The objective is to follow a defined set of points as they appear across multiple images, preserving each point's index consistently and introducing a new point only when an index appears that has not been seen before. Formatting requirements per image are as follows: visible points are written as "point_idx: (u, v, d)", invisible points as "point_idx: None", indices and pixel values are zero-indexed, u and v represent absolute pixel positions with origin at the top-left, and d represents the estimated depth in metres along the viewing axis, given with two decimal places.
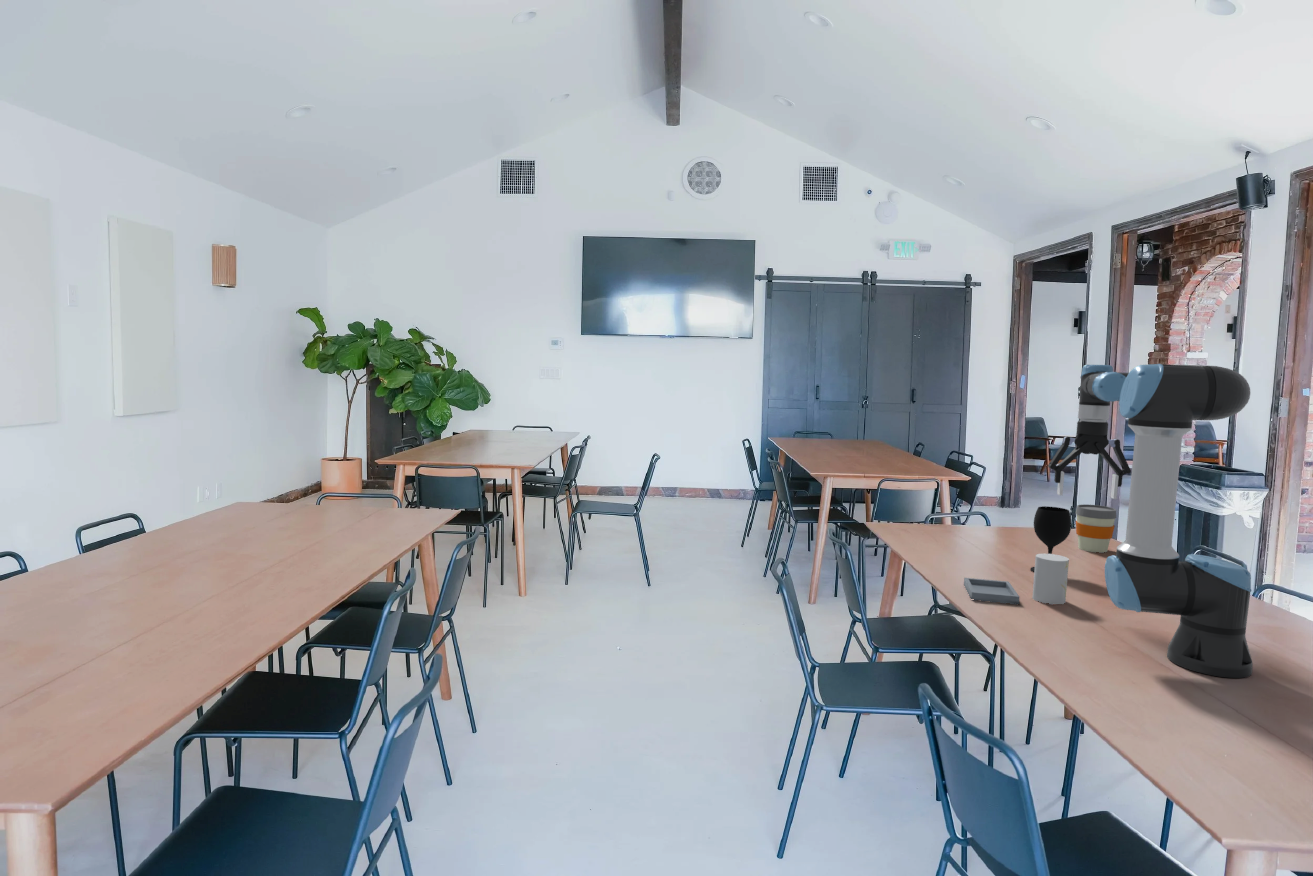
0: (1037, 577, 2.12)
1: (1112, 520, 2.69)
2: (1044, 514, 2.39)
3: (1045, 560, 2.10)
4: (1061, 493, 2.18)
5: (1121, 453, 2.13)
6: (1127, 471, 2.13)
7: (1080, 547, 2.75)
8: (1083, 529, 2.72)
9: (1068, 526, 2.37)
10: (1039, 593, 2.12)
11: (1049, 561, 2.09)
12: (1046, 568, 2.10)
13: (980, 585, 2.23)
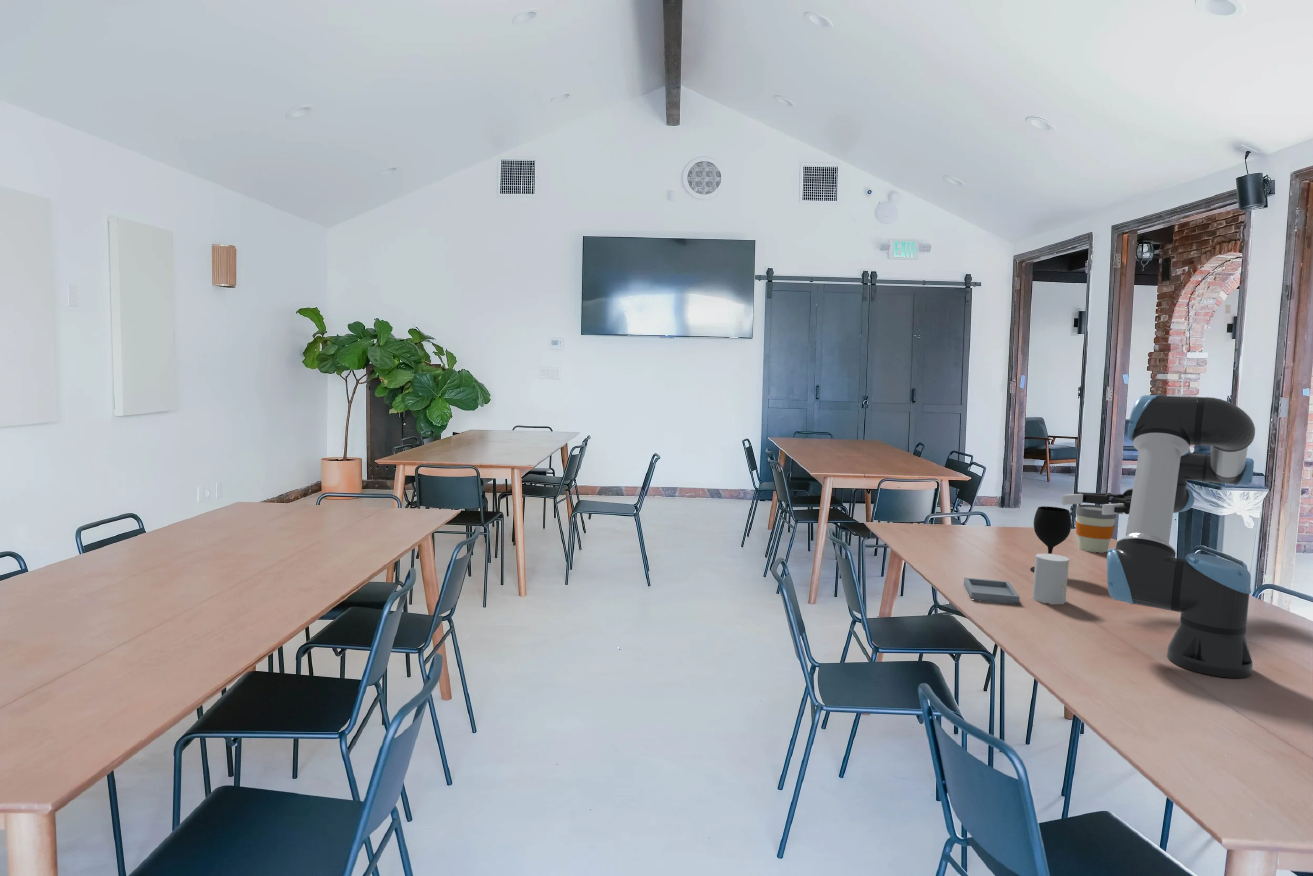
0: (1037, 577, 2.12)
1: (1112, 520, 2.69)
2: (1044, 514, 2.39)
3: (1045, 560, 2.10)
4: (1065, 495, 2.20)
5: None
6: None
7: (1080, 547, 2.75)
8: (1083, 529, 2.72)
9: (1068, 526, 2.37)
10: (1039, 593, 2.12)
11: (1049, 561, 2.09)
12: (1046, 568, 2.10)
13: (980, 585, 2.23)
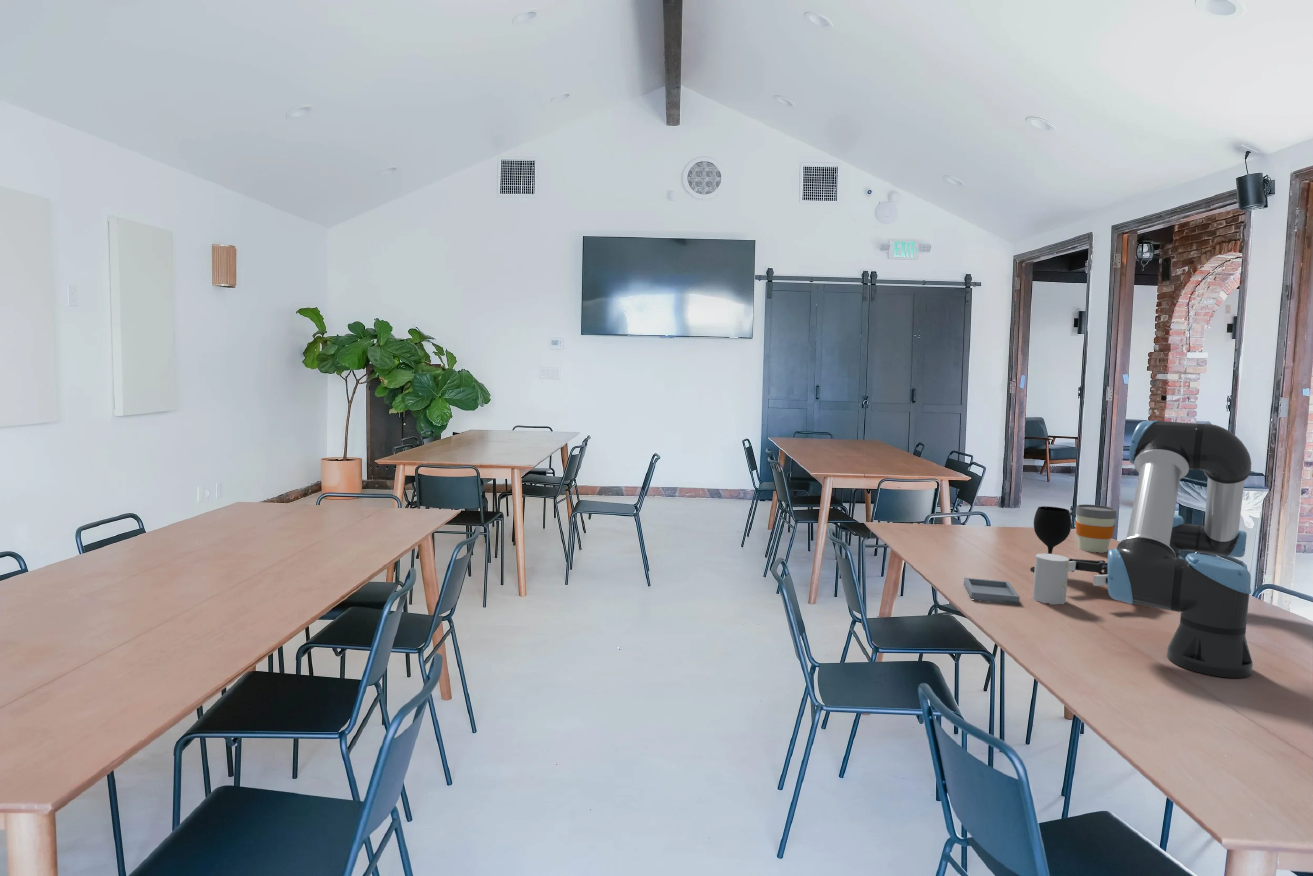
0: (1037, 577, 2.12)
1: (1112, 520, 2.69)
2: (1044, 514, 2.39)
3: (1045, 560, 2.10)
4: None
5: None
6: None
7: (1080, 547, 2.75)
8: (1083, 529, 2.72)
9: (1068, 526, 2.37)
10: (1039, 593, 2.12)
11: (1049, 561, 2.09)
12: (1046, 568, 2.10)
13: (980, 585, 2.23)
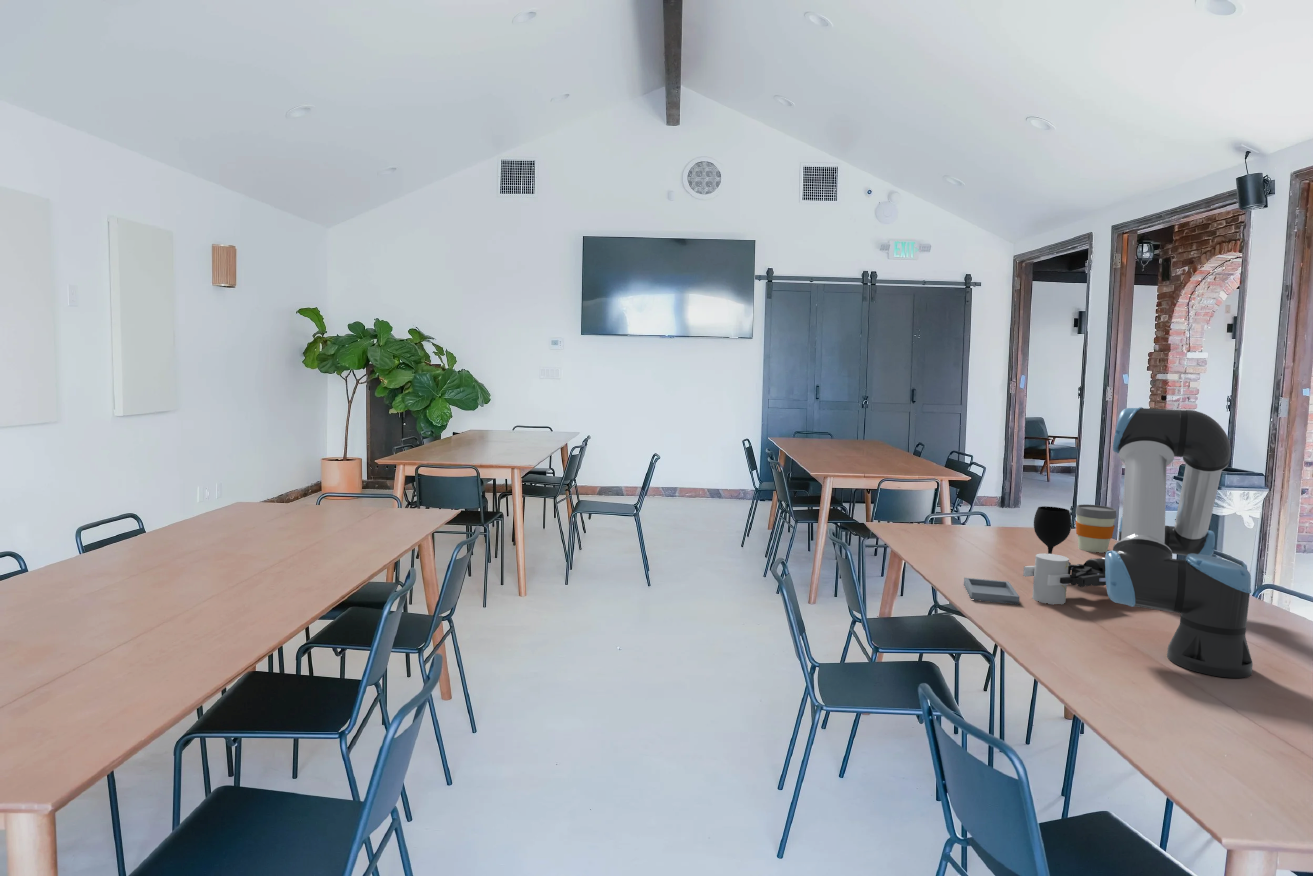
0: (1037, 577, 2.12)
1: (1112, 520, 2.69)
2: (1044, 514, 2.39)
3: (1045, 560, 2.10)
4: (1026, 566, 2.16)
5: (1094, 575, 2.09)
6: (1080, 577, 2.07)
7: (1080, 547, 2.75)
8: (1083, 529, 2.72)
9: (1068, 526, 2.37)
10: (1039, 593, 2.12)
11: (1049, 561, 2.09)
12: (1046, 567, 2.10)
13: (980, 585, 2.23)
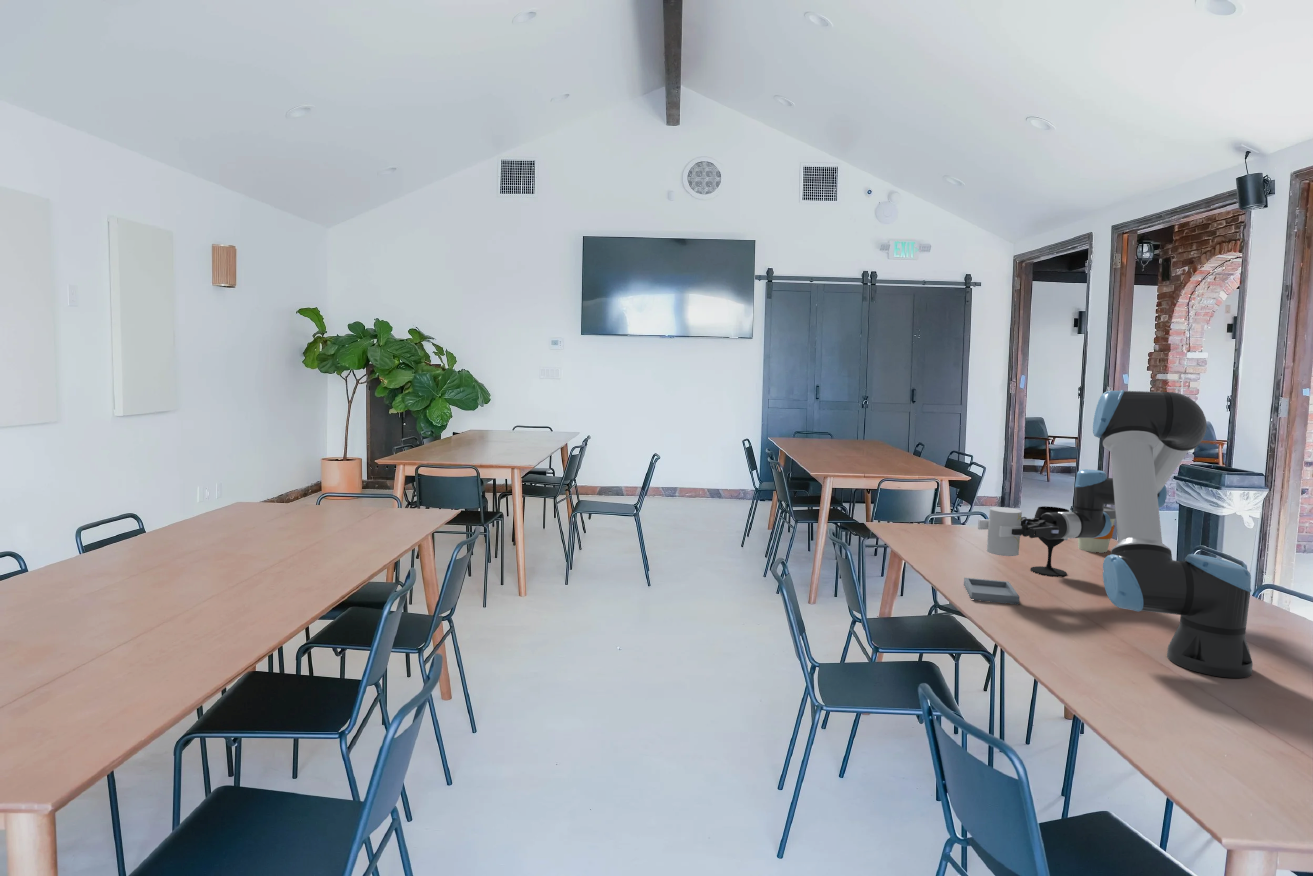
0: (990, 529, 2.15)
1: (1112, 520, 2.69)
2: None
3: (998, 512, 2.13)
4: None
5: (1046, 527, 2.11)
6: (1031, 528, 2.10)
7: (1080, 547, 2.75)
8: None
9: None
10: (992, 545, 2.15)
11: (1001, 513, 2.12)
12: (999, 519, 2.13)
13: (980, 585, 2.23)
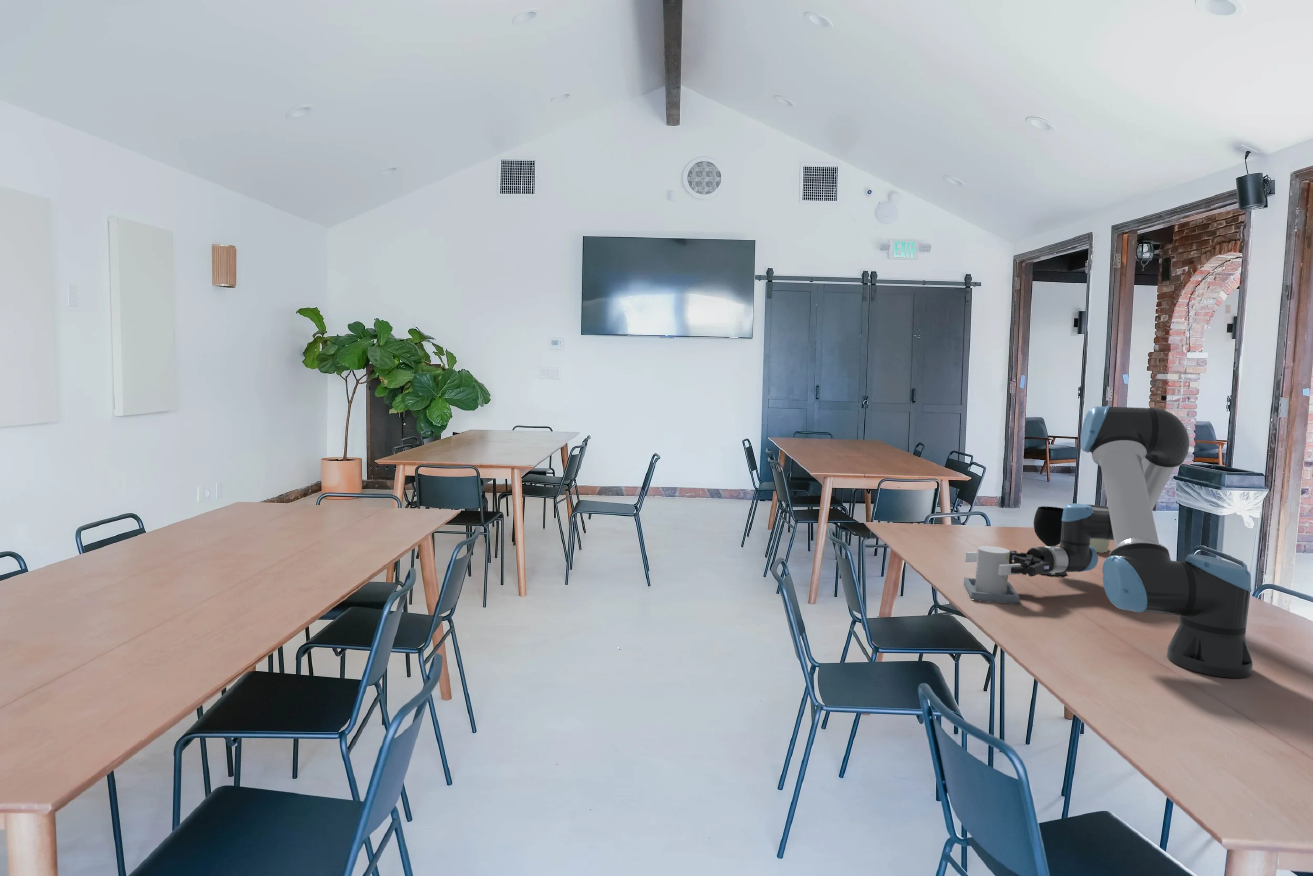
0: (979, 569, 2.16)
1: None
2: (1044, 514, 2.39)
3: (986, 552, 2.13)
4: (968, 552, 2.22)
5: (1040, 564, 2.12)
6: (1030, 566, 2.09)
7: None
8: None
9: None
10: (980, 585, 2.15)
11: (990, 553, 2.13)
12: (987, 560, 2.13)
13: None
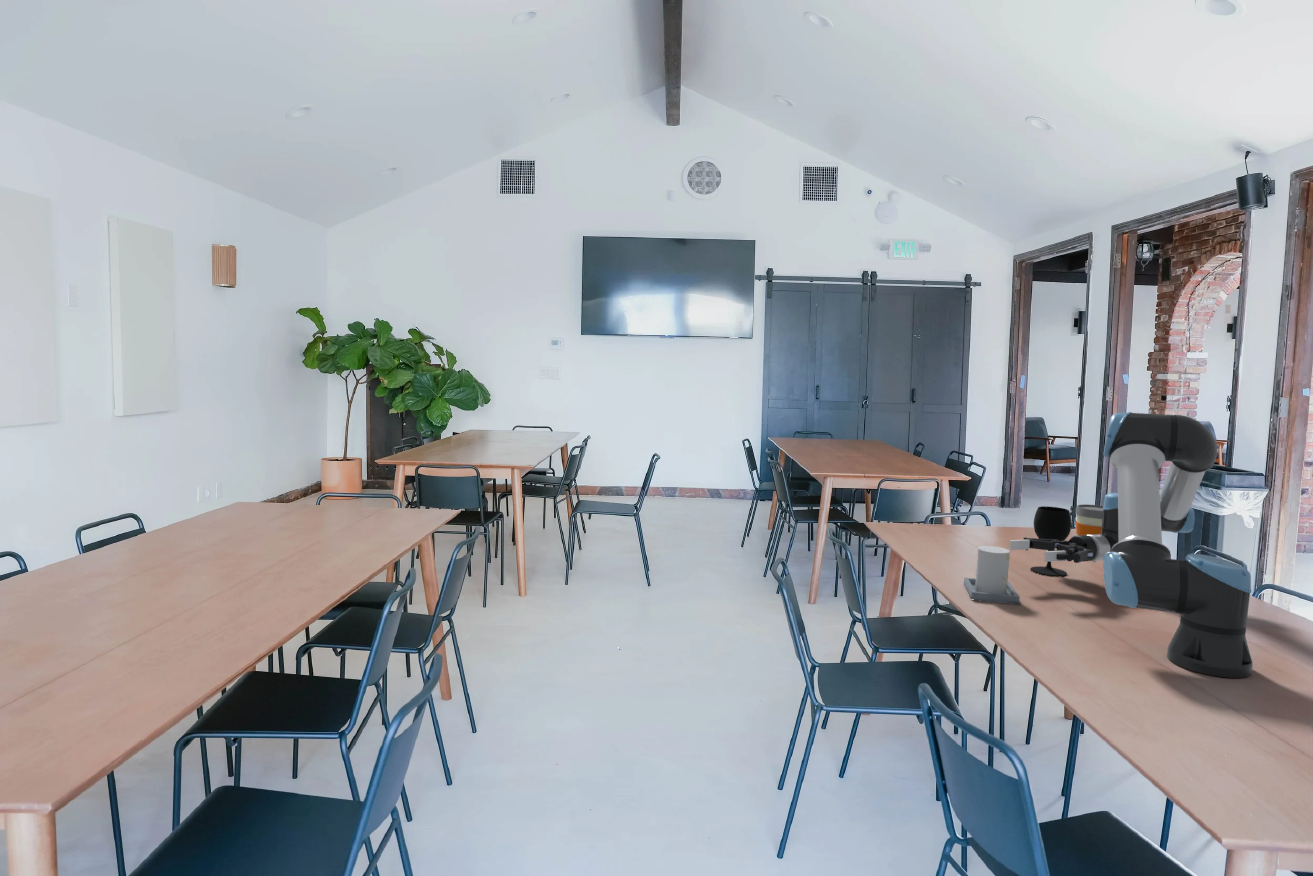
0: (979, 569, 2.16)
1: None
2: (1044, 514, 2.39)
3: (986, 552, 2.13)
4: (1012, 540, 2.26)
5: (1084, 551, 2.16)
6: (1076, 553, 2.12)
7: None
8: (1083, 529, 2.72)
9: (1068, 526, 2.37)
10: (980, 585, 2.15)
11: (990, 553, 2.13)
12: (987, 560, 2.13)
13: None
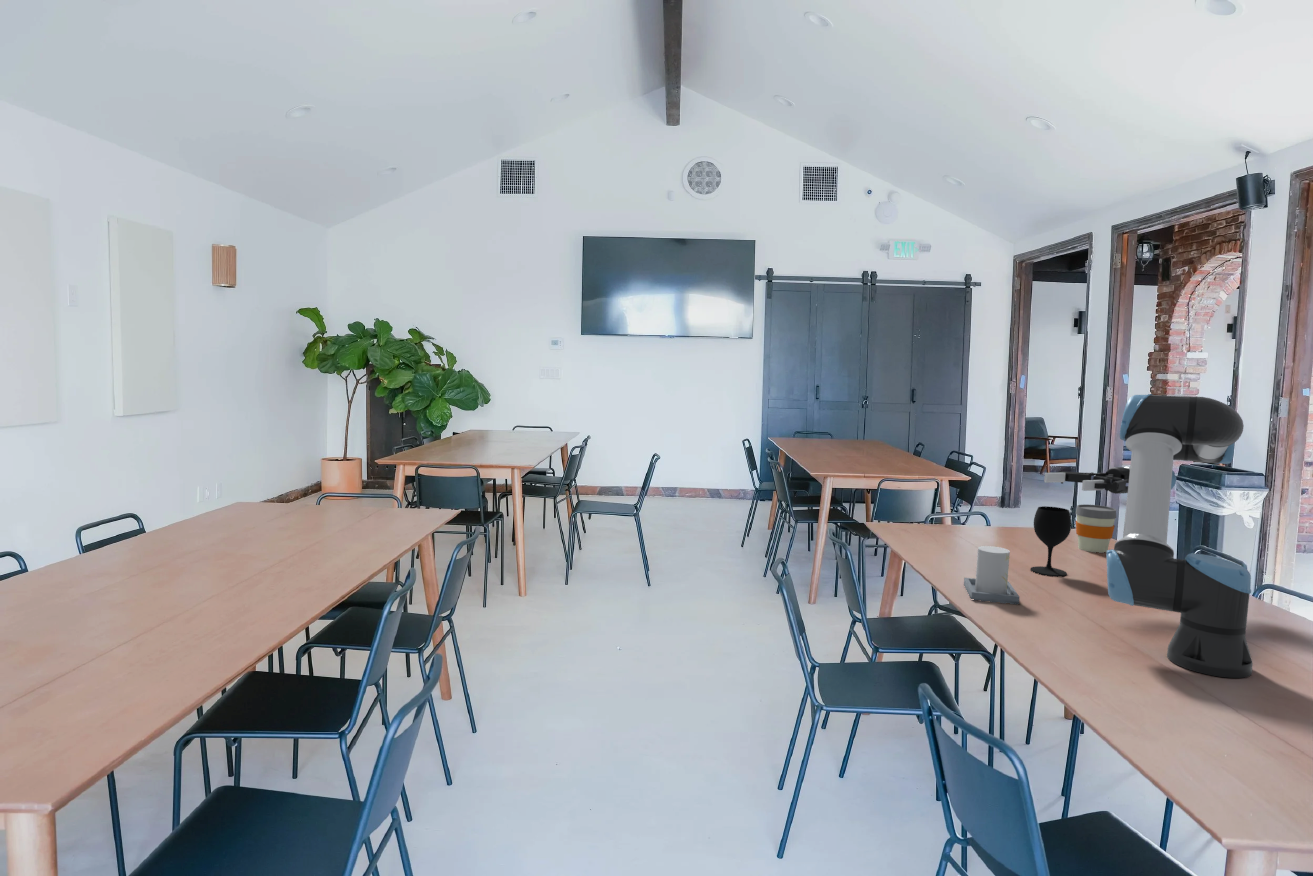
0: (979, 569, 2.16)
1: (1112, 520, 2.69)
2: (1044, 514, 2.39)
3: (986, 552, 2.13)
4: (1047, 473, 2.23)
5: (1123, 480, 2.13)
6: (1114, 482, 2.10)
7: (1080, 547, 2.75)
8: (1083, 529, 2.72)
9: (1068, 526, 2.37)
10: (980, 585, 2.15)
11: (990, 553, 2.13)
12: (987, 560, 2.13)
13: None
